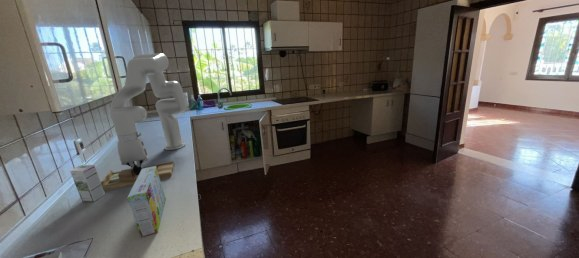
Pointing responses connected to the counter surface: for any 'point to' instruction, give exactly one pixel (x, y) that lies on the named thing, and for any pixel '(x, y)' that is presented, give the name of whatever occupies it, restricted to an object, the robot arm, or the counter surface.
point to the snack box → (147, 201)
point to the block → (126, 174)
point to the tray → (114, 182)
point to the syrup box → (87, 183)
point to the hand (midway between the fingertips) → (138, 173)
